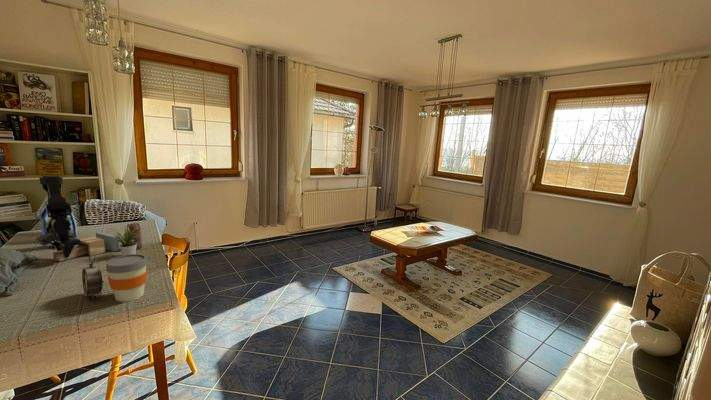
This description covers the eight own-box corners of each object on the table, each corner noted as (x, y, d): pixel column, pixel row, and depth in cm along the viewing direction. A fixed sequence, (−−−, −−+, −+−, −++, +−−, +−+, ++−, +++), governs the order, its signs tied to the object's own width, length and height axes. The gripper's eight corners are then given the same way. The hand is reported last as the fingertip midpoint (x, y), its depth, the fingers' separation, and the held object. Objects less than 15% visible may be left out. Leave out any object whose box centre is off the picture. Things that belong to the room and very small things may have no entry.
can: (135, 250, 160) (132, 226, 158) (125, 249, 162) (123, 225, 159) (144, 247, 166) (143, 223, 164) (135, 246, 167) (133, 222, 165)
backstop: (97, 246, 164) (95, 232, 162) (101, 245, 166) (99, 232, 164) (115, 251, 158) (113, 237, 157) (119, 250, 160) (118, 236, 159)
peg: (53, 260, 142) (52, 252, 141) (88, 250, 156) (87, 243, 156) (59, 261, 141) (58, 253, 140) (94, 251, 155) (93, 244, 155)
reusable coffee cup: (117, 307, 106) (113, 269, 104) (103, 297, 113) (99, 260, 110) (155, 294, 117) (152, 258, 114) (140, 285, 123) (138, 251, 121)
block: (78, 252, 154) (76, 239, 153) (93, 248, 160) (91, 236, 159) (90, 255, 150) (89, 242, 149) (105, 251, 156) (103, 239, 155)
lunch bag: (37, 235, 177) (31, 192, 173) (75, 230, 190) (70, 190, 185) (39, 244, 163) (33, 198, 159) (80, 238, 176) (75, 195, 171)
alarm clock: (83, 293, 115) (78, 254, 112) (101, 289, 119) (96, 251, 116) (87, 304, 108) (82, 262, 105) (106, 299, 112) (102, 258, 109)
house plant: (154, 254, 156) (151, 225, 153) (124, 263, 144) (121, 231, 141) (138, 249, 162) (135, 221, 159) (108, 257, 150) (105, 226, 147)
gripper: (27, 227, 138) (31, 258, 140) (48, 233, 131) (53, 266, 134) (57, 222, 148) (61, 251, 150) (79, 227, 141) (83, 258, 144)
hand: (64, 256), depth 144 cm, fingers closed on peg, 4 cm apart
